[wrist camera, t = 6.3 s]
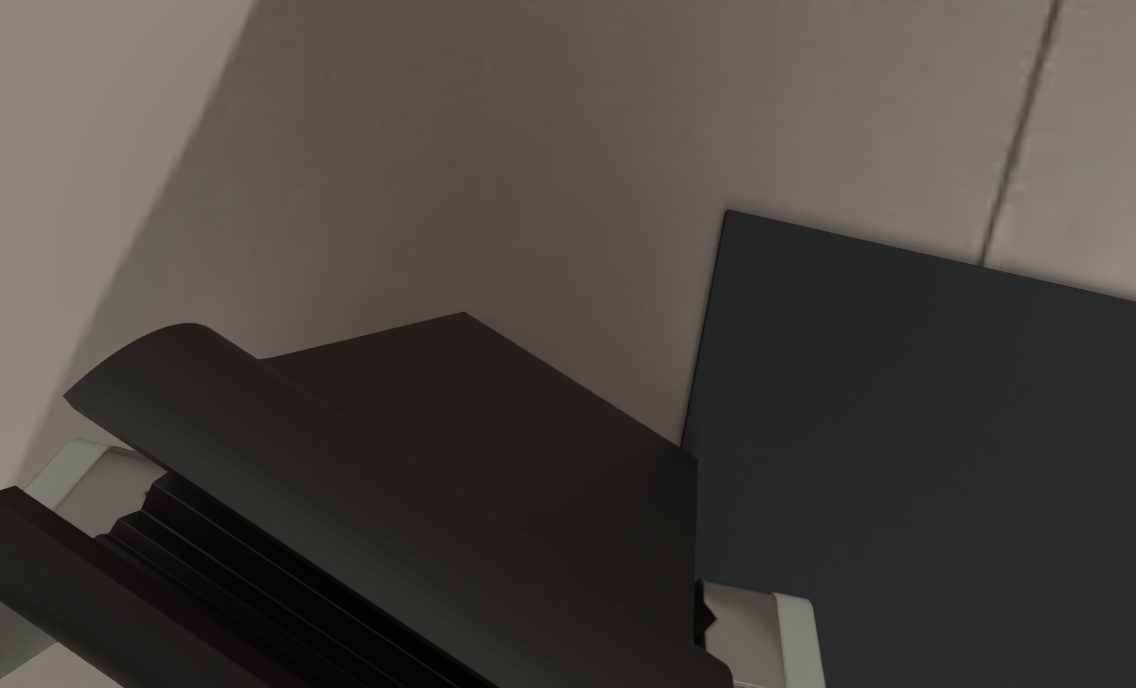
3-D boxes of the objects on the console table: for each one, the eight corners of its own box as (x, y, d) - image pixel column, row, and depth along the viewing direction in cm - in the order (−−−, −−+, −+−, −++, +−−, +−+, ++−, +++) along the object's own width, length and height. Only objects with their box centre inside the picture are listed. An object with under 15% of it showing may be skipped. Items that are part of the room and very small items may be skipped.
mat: (601, 856, 18) (603, 860, 18) (725, 211, 20) (727, 208, 20) (1272, 1002, 18) (1281, 1007, 18) (1307, 343, 21) (1314, 341, 20)
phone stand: (464, 844, 17) (307, 1528, 6) (220, 674, 18) (-393, 979, 6) (696, 461, 19) (949, 377, 7) (467, 314, 20) (355, 11, 8)
